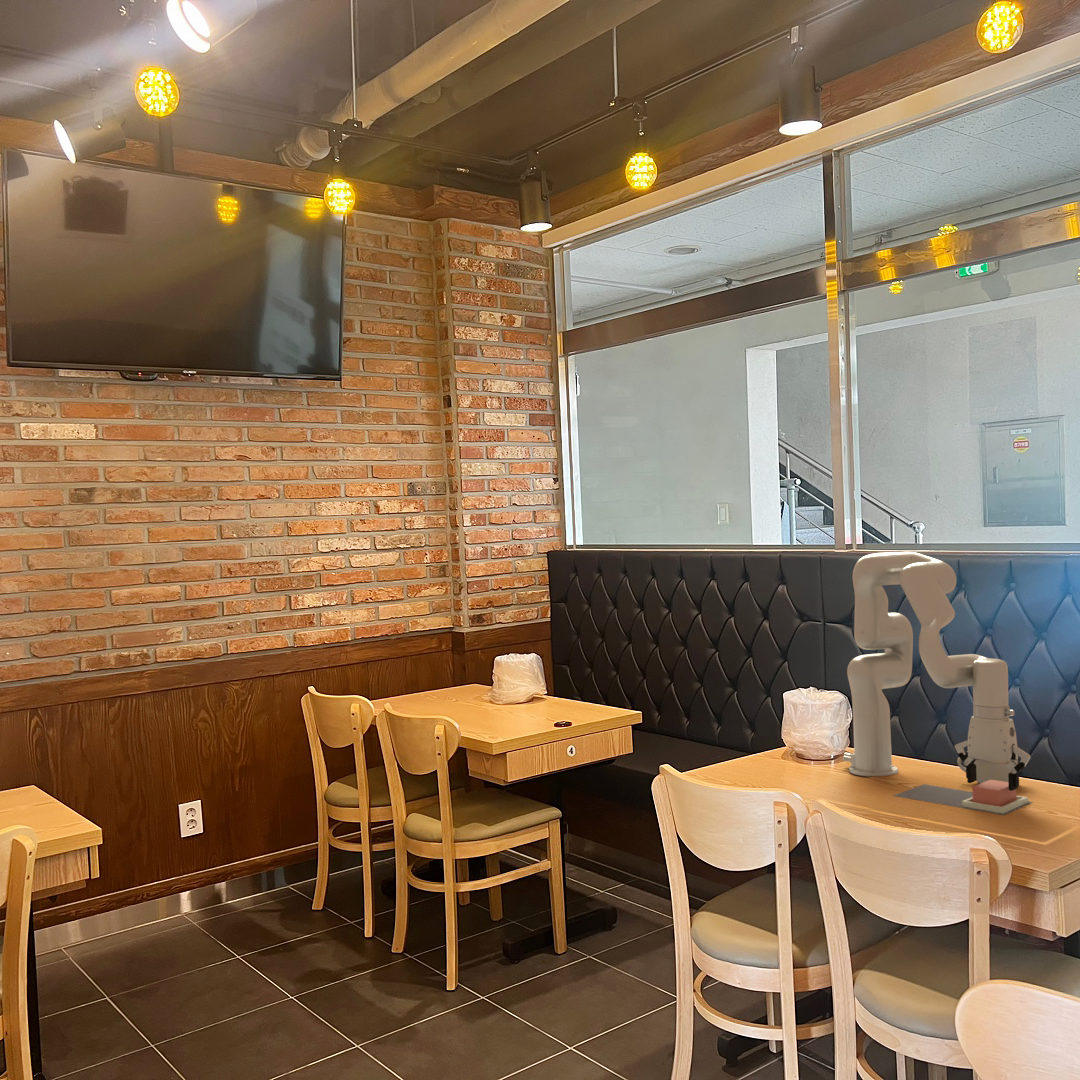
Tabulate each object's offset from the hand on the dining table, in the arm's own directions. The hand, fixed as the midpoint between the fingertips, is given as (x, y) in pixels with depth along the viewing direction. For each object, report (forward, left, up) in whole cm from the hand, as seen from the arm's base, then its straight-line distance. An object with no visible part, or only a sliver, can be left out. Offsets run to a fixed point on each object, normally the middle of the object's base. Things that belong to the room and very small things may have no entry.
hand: (992, 785), depth 239 cm
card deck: (+1, 0, -4) cm, 4 cm away
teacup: (-9, +18, -5) cm, 21 cm away
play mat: (-7, 0, -5) cm, 9 cm away
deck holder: (+1, 0, -4) cm, 4 cm away
